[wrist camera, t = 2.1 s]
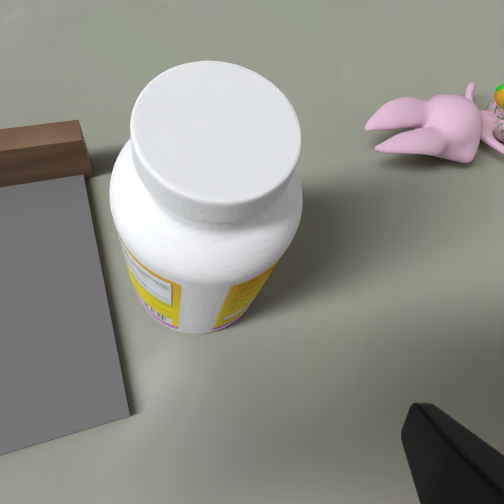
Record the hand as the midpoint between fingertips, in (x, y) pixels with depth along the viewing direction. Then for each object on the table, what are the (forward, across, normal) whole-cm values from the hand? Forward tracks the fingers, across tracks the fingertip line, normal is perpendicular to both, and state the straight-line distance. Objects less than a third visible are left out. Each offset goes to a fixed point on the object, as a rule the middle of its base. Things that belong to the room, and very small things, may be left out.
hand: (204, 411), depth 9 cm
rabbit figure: (+22, -16, -3) cm, 28 cm away
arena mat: (+12, +10, +6) cm, 17 cm away
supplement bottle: (+14, 0, +4) cm, 15 cm away
